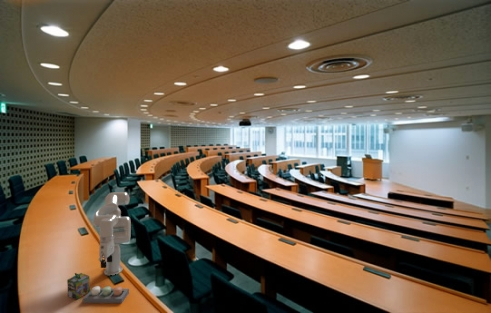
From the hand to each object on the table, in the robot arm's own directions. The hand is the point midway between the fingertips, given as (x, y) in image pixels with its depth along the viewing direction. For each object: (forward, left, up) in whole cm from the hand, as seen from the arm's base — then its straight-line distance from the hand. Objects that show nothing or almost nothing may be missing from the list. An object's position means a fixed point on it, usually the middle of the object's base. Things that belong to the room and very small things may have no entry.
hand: (106, 264), depth 154 cm
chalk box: (-19, -7, -23) cm, 31 cm away
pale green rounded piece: (0, 0, -20) cm, 20 cm away
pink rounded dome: (+6, +3, -20) cm, 21 cm away
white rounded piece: (-6, -3, -20) cm, 22 cm away
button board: (0, 0, -23) cm, 23 cm away
